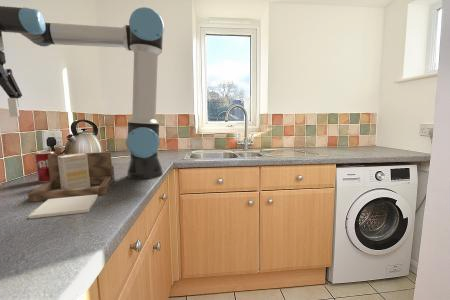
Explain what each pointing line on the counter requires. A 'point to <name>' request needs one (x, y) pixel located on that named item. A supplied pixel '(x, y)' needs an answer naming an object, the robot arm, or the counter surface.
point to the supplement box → (74, 171)
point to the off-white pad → (64, 206)
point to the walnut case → (98, 174)
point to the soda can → (43, 166)
